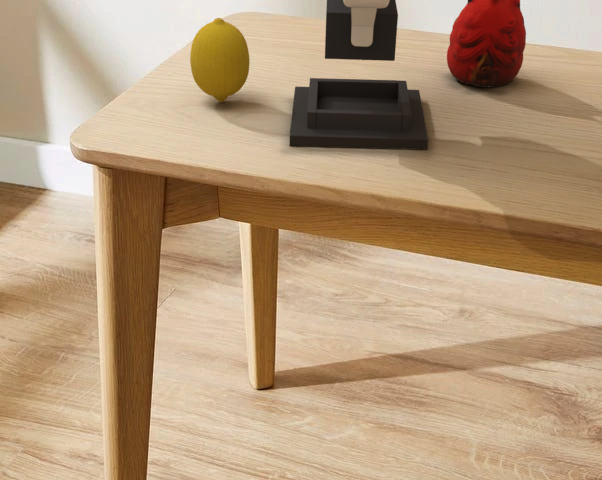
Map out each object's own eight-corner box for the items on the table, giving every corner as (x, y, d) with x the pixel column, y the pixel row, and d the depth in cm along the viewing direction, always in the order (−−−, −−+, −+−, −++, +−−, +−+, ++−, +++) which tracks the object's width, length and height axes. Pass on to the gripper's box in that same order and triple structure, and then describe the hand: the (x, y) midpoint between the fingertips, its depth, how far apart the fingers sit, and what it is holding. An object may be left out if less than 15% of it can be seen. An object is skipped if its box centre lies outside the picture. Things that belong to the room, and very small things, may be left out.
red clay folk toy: (517, 70, 102) (538, -81, 94) (523, 94, 96) (546, -65, 88) (444, 66, 103) (458, -84, 95) (445, 90, 97) (461, -68, 89)
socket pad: (418, 99, 95) (420, 74, 93) (427, 150, 85) (430, 122, 83) (295, 96, 95) (295, 71, 94) (289, 146, 85) (289, 119, 84)
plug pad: (391, 40, 88) (394, -4, 86) (394, 61, 84) (398, 14, 82) (325, 38, 88) (327, -6, 86) (324, 58, 84) (326, 12, 82)
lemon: (224, 87, 97) (221, 6, 92) (262, 102, 93) (261, 19, 89) (180, 100, 94) (175, 17, 89) (217, 117, 90) (214, 31, 86)
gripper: (418, -117, 69) (403, 73, 76) (402, -158, 86) (391, 0, 94) (328, -119, 69) (322, 70, 77) (331, -160, 86) (325, -2, 94)
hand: (360, 31), depth 85 cm, fingers closed on plug pad, 5 cm apart
